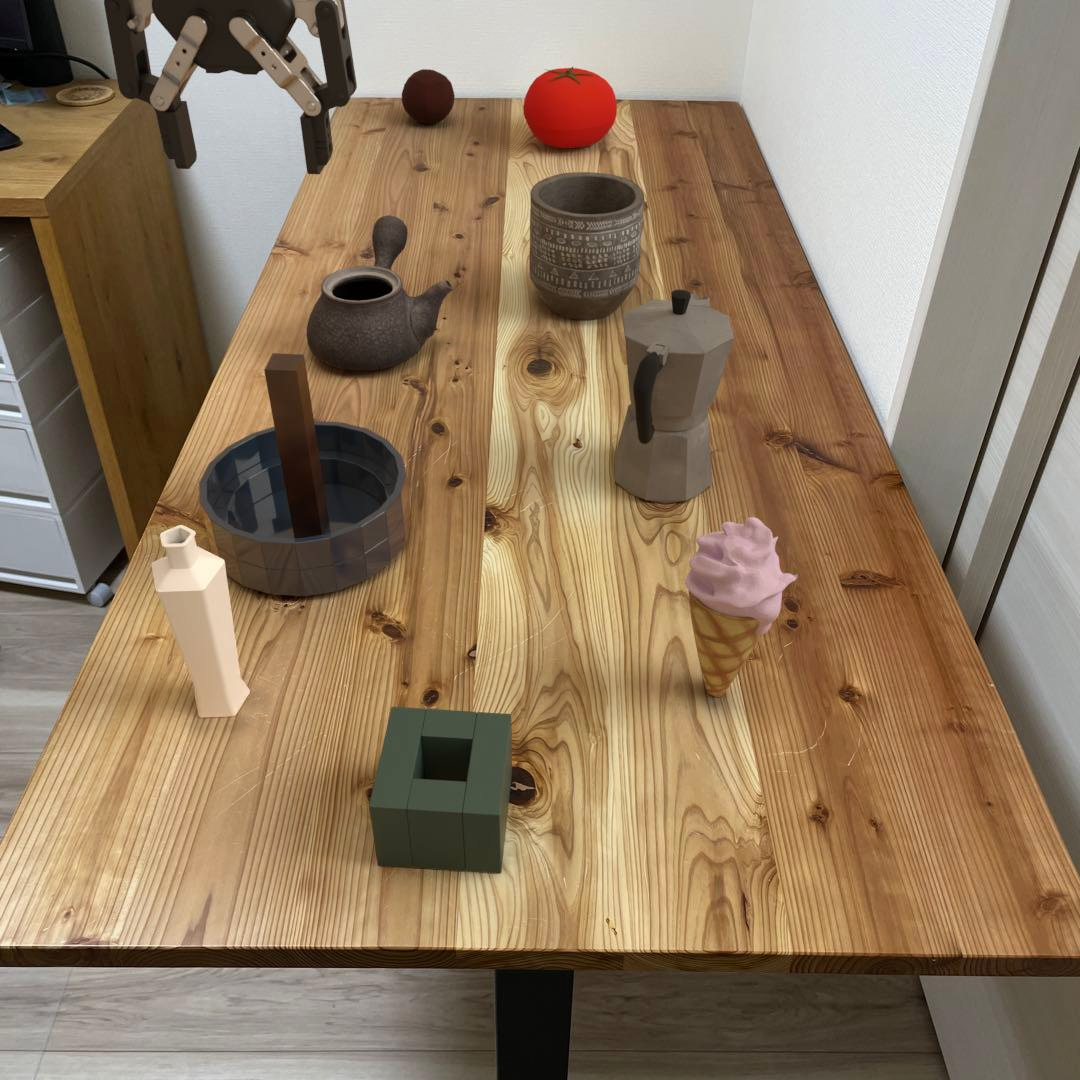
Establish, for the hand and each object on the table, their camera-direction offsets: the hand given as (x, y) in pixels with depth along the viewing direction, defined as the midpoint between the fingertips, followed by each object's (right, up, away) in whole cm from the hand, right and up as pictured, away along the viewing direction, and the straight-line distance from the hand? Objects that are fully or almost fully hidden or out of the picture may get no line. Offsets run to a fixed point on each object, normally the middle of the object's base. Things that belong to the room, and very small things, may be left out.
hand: (252, 167), depth 69 cm
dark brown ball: (+2, +41, +97) cm, 105 cm away
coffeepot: (+29, -19, +26) cm, 44 cm away
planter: (+24, +3, +52) cm, 57 cm away
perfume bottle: (-4, -36, +6) cm, 36 cm away
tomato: (+23, +35, +90) cm, 100 cm away
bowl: (0, -24, +20) cm, 31 cm away
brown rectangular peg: (0, -23, +20) cm, 30 cm away
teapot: (+2, -2, +46) cm, 46 cm away
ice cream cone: (+32, -35, +7) cm, 48 cm away
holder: (+13, -42, -1) cm, 44 cm away
